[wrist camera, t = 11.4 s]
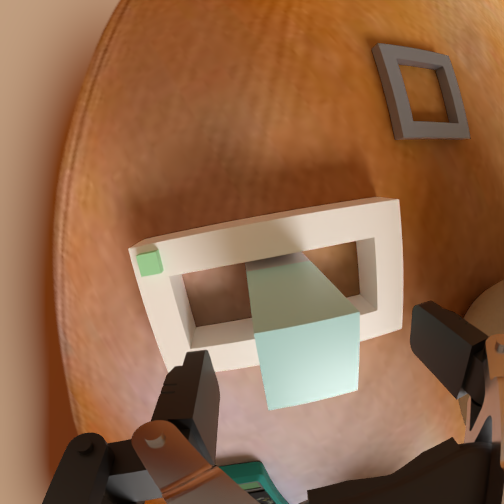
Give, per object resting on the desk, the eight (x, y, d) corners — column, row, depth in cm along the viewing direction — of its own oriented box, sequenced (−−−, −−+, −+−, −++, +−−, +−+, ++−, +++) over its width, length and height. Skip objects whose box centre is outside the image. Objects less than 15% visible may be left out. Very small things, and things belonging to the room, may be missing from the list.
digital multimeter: (239, 513, 28) (240, 529, 25) (192, 466, 24) (190, 487, 21) (291, 504, 27) (294, 520, 24) (259, 455, 24) (262, 477, 21)
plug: (298, 249, 19) (359, 311, 9) (304, 299, 20) (357, 389, 10) (244, 258, 19) (253, 333, 9) (253, 308, 20) (268, 410, 10)
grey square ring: (440, 59, 16) (448, 55, 15) (461, 139, 17) (470, 138, 16) (371, 49, 16) (378, 42, 15) (394, 139, 17) (403, 137, 16)
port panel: (376, 196, 18) (404, 199, 15) (383, 311, 20) (405, 332, 17) (143, 239, 18) (124, 250, 15) (177, 353, 20) (168, 382, 17)
